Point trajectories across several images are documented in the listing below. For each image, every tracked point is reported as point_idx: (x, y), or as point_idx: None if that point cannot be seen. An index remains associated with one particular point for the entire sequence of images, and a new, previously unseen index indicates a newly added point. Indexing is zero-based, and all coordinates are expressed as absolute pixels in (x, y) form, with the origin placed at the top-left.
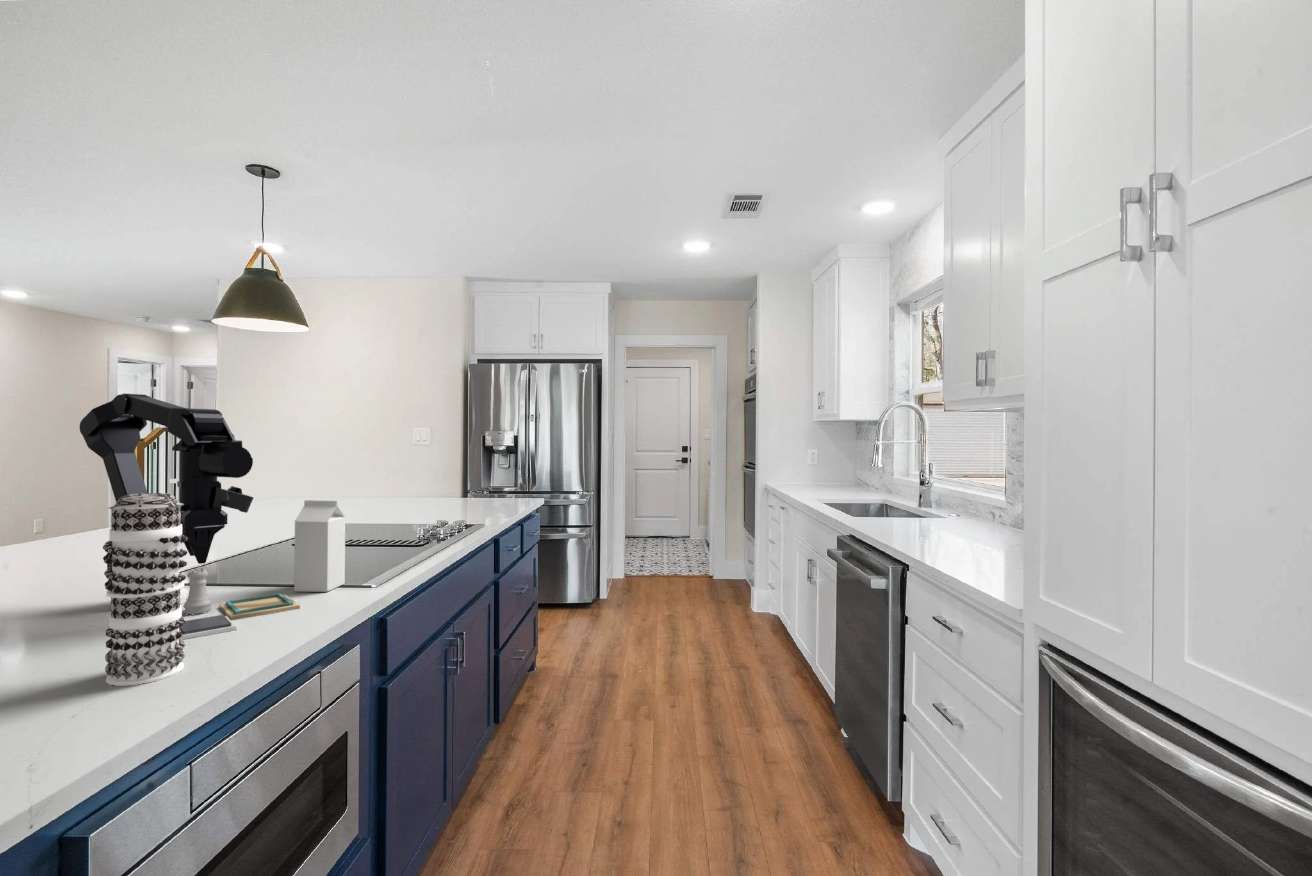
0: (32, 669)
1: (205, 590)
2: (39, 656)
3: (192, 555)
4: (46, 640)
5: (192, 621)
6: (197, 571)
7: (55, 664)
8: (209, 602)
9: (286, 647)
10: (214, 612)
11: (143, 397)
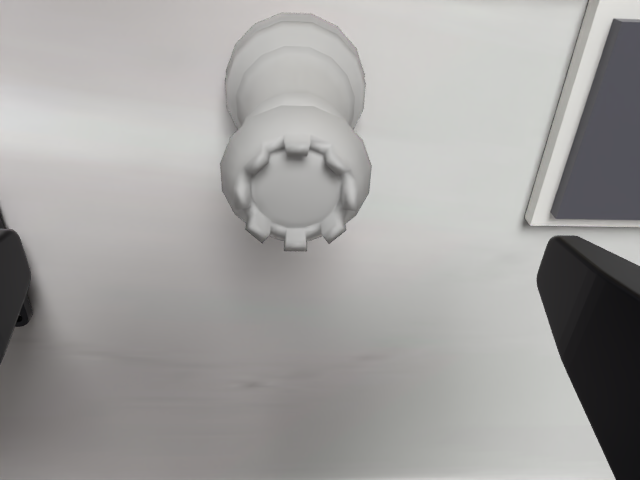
0: None
1: (325, 87)
2: (504, 460)
3: (26, 264)
4: (345, 454)
5: (606, 164)
6: (356, 207)
7: None
8: (342, 45)
9: None
10: (374, 12)
11: None
